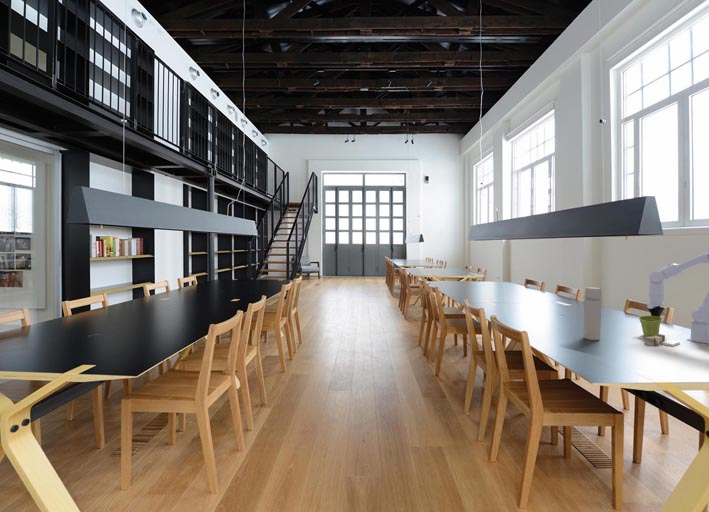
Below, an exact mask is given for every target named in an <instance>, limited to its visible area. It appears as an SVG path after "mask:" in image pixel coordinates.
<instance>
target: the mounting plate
mask: <svg viewBox="0 0 709 512" xmlns="http://www.w3.org/2000/svg"><path fill="white" fill-rule="evenodd" d="M662 344H663V346H667V345H668V347H672V346H673V347H675V345H676V346H678V345H680V344H681V342H680V341H679V340H678V341H676V340H672V339H668V340H665V341H664V342H662V343H661V345H662Z"/></svg>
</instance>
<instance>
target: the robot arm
mask: <svg viewBox="0 0 709 512" xmlns="http://www.w3.org/2000/svg"><path fill="white" fill-rule="evenodd" d="M699 264H709V252H707V253H703V254H699V255H697V256H695V257H692V258H690V259H689V260H686V261H684V262H682V263H679V264H678V263H668V264H667V266H665V267H662V268H660V267H659V268H657V270H656V271H655V270H654V271H652V272H651V273H650V274H649V276H648V278H649V286H648V287H649V290H648V291H649V293H648V296H649V297H648V298H649V299H648V302H646V304H647V307H646V308H647V309H648V311H649V314H650V316H657V317H660V318H661V315H662V313H663V312H664V310H665V303H666V302H664V288H665V287H664V281H665V280H668V279H671V278H675V277H676V276H679V275H681V274H682V273H683V271H684V270H687V269H689V268H691V267H694V266H697V265H699ZM691 317H692V320H691V323H690V337H689V338H686V340H687V341H690V342H696V343H700V344H701V343H702V344H706V345H707V344H709V291H707V293H706V295H705V297H704V298H703V300H702V302H701V304H700V305H699V306H698V307H696V309H695V310H693V312H692V314H691Z"/></svg>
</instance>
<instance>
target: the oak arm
mask: <svg viewBox="0 0 709 512" xmlns="http://www.w3.org/2000/svg"><path fill="white" fill-rule="evenodd" d="M655 337H659V338H660V343H661V344H662V342H664V341H666V335H665V334H662V333H661V334H660V333H659V334H657V336H651V337H649V336H645V337H644V341H643V344H644V345H647V344H648V345H647V346H655V345H654V344H655Z"/></svg>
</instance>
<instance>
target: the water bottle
mask: <svg viewBox="0 0 709 512" xmlns="http://www.w3.org/2000/svg"><path fill="white" fill-rule="evenodd" d="M602 293H603V292H602V288H600V287H593V286H590V287H589V286H588V287H587V286H586V287H585V291H584V297H582V298H584V302H583V303H584V305H583V339H585V340H588V341H599V340H601V329H602V328H601V327H602V321H601V320H602V299H603V295H602Z"/></svg>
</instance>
